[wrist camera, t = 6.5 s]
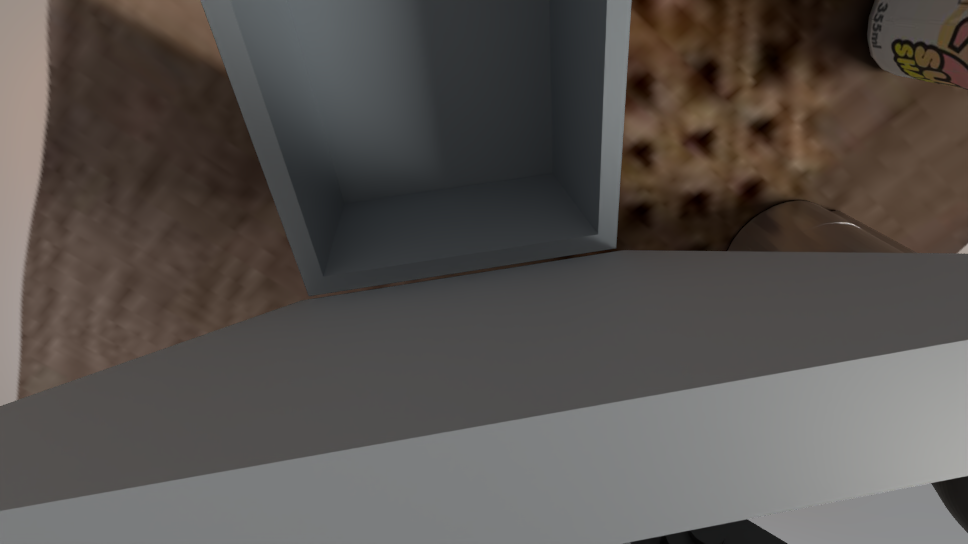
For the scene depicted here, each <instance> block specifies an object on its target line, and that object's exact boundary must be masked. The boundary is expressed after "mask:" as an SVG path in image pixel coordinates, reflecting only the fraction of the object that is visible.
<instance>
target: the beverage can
mask: <svg viewBox="0 0 968 544" xmlns="http://www.w3.org/2000/svg"><path fill="white" fill-rule="evenodd" d="M867 40H868V44H869V49H870V54H871V56H872V58H873V59H874V60H875V61H876V63H877V64H878V65H879V67H880V68H882V69H883V70H885V71H888V72H890V73H892V74H895V75H898V76H903V77H908V78H913V79H918V80H923V81H928V82H933V83H938V84H943V85H948V86H953V87H958V88H963V89H968V0H875V1H874V4H873V7H872V9H871V12H870V15H869V21H868V30H867Z"/></svg>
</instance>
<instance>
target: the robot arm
mask: <svg viewBox="0 0 968 544" xmlns="http://www.w3.org/2000/svg"><path fill="white" fill-rule="evenodd" d="M727 251H749V252H844V253H916V252H914V251H913V250H911V249H909V248H907V247H905V246H903V245H902V244H900V243H898V242H896V241H894V240H892V239H890V238H889V237H887V236H885V235H883V234H881V233H879V232H878V231H876V230H874V229H872V228H870V227H868V226H866V225H865V224H863V223H861V222H859V221H857V220H855V219H854V218H852V217H850V216H848V215H846V214H844V213H842V212H841V211H832V212H831V211H829V210H827V209H825V208H823V207H822V206H820V205H818V204H815V203H812V202H809V201H791V202H785V203H782V204H779V205H776V206H773V207H771V208H770V209H768V210H766V211H764V212H762V213H760V214H759V215H758V216H756V217H755V218H753V219H752V220H751V221H750V222H749V223H748V224H747V225H746V226H744V227H743V228H742V229H741V230H740V232H739V233H738V234H737V236H736V237H735V238H734V240H733V241H732V243H731V245H730V247H729V249H728V250H727ZM931 484H932V485H933V487H934V488H935V490H936V492H937V493H938V495H939V497H940V498H941V500H942V501H943V503H944V505H945V506H946V508H947V509H948V510H949V512H950V513H951V514H952V516H953V517H954V518H955V519H956V520H957V522H958V523H959V524H960V525H961V526H962V527H963V528H964V529H965V531H966V532H967V533H968V476H965V477H960V478H954V479H949V480H944V481H939V482H934V483H931ZM623 544H787V543H786V542H784V541H782V540H781V539H779V538H777V537H776V536H774V535H772V534H771V533H769V532H767V531H766V530H764V529H762V528H760V527H759V526H757V525H756V524H754V523H752V522H751V521H749V520H747V519H746V520H740V521H735V522H730V523H725V524H720V525H715V526H710V527H705V528H700V529H695V530H690V531H684V532H679V533H674V534H669V535H664V536H659V537H654V538H649V539H644V540H639V541H633V542H628V543H623Z"/></svg>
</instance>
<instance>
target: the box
mask: <svg viewBox="0 0 968 544" xmlns="http://www.w3.org/2000/svg"><path fill="white" fill-rule="evenodd" d="M201 3H202V6H203V9H204V11H205V14H206V17H207V20H208V22H209V25H210V28H211V30H212V33H213V36H214V39H215V41H216V44H217V47H218V50H219V52H220V55H221V58H222V60H223V63H224V66H225V69H226V71H227V74H228V77H229V80H230V82H231V85H232V88H233V90H234V93H235V96H236V99H237V101H238V104H239V107H240V110H241V112H242V115H243V118H244V121H245V123H246V126H247V129H248V131H249V134H250V137H251V140H252V142H253V145H254V148H255V151H256V153H257V156H258V159H259V161H260V164H261V167H262V170H263V172H264V175H265V178H266V181H267V183H268V186H269V189H270V191H271V194H272V197H273V200H274V202H275V205H276V208H277V211H278V213H279V216H280V219H281V222H282V224H283V227H284V230H285V232H286V235H287V238H288V241H289V243H290V246H291V249H292V252H293V254H294V257H295V260H296V262H297V265H298V268H299V271H300V273H301V276H302V279H303V282H304V284H305V287H306V290H307V292H308V295H309V296H313V295H320V294H326V293H332V292H339V291H345V290H352V289H358V288H365V287H371V286H377V285H384V284H390V283H397V282H403V281H409V280H416V279H422V278H429V277H435V276H441V275H448V274H454V273H461V272H467V271H474V270H480V269H486V268H493V267H499V266H506V265H512V264H518V263H525V262H531V261H538V260H544V259H551V258H557V257H563V256H570V255H576V254H583V253H589V252H595V251H602V250H608V249H615V248H616V241H617V225H618V209H619V193H620V177H621V161H622V145H623V129H624V112H625V96H626V80H627V64H628V48H629V32H630V16H631V0H201Z"/></svg>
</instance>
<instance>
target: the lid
mask: <svg viewBox="0 0 968 544" xmlns="http://www.w3.org/2000/svg"><path fill="white" fill-rule="evenodd" d="M965 476H968V254H939V253H844V252H749V251H654V250H622V251H615V252H609V253H603V254H596V255H590V256H583V257H577V258H571V259H564V260H558V261H551V262H545V263H539V264H532V265H526V266H519V267H513V268H507V269H500V270H494V271H487V272H481V273H475V274H468V275H462V276H456V277H449V278H443V279H436V280H430V281H424V282H417V283H411V284H404V285H398V286H392V287H385V288H379V289H372V290H366V291H360V292H353V293H347V294H340V295H334V296H328V297H321V298H315V299H308V300H302V301H299V302H296V303H293V304H290V305H288V306H285V307H282V308H279V309H276V310H273V311H270V312H268V313H265V314H262V315H259V316H256V317H253V318H251V319H248V320H245V321H242V322H239V323H236V324H233V325H231V326H228V327H225V328H222V329H219V330H216V331H213V332H211V333H208V334H205V335H202V336H199V337H196V338H194V339H191V340H188V341H185V342H182V343H179V344H176V345H174V346H171V347H168V348H165V349H162V350H159V351H156V352H154V353H151V354H148V355H145V356H142V357H139V358H136V359H134V360H131V361H128V362H125V363H122V364H119V365H117V366H114V367H111V368H108V369H105V370H102V371H99V372H97V373H94V374H91V375H88V376H85V377H82V378H79V379H77V380H74V381H71V382H68V383H65V384H62V385H60V386H57V387H54V388H51V389H48V390H45V391H42V392H40V393H37V394H34V395H31V396H28V397H25V398H22V399H20V400H17V401H14V402H11V403H8V404H6V405H3V406H0V544H623V543H628V542H633V541H639V540H644V539H649V538H654V537H659V536H664V535H669V534H674V533H679V532H684V531H690V530H695V529H700V528H705V527H710V526H715V525H720V524H725V523H730V522H735V521H740V520H746V519H750V518H755V517H761V516H766V515H771V514H776V513H781V512H786V511H791V510H797V509H802V508H807V507H812V506H817V505H822V504H827V503H832V502H837V501H842V500H847V499H852V498H857V497H862V496H868V495H873V494H878V493H883V492H888V491H893V490H898V489H903V488H908V487H914V486H918V485H924V484H928V483H934V482H939V481H944V480H949V479H954V478H960V477H965Z"/></svg>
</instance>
